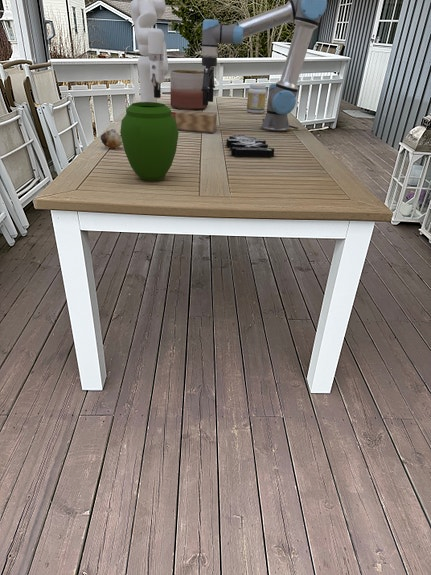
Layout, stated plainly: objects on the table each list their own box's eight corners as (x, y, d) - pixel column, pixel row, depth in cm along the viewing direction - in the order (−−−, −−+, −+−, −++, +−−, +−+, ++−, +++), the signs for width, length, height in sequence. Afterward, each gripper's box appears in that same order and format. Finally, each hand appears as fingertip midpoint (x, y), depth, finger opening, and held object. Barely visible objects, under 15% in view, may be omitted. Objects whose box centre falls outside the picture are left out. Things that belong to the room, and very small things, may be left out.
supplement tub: (247, 109, 285) (249, 83, 276) (264, 111, 283) (267, 84, 274) (245, 112, 274) (248, 84, 265) (264, 114, 273) (266, 86, 264)
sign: (232, 149, 174) (222, 134, 199) (232, 157, 176) (222, 140, 201) (276, 150, 177) (260, 135, 202) (275, 157, 179) (260, 141, 204)
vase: (131, 189, 135) (125, 110, 122) (118, 172, 150) (112, 100, 137) (186, 184, 142) (187, 109, 129) (169, 168, 157) (167, 99, 144)
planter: (201, 104, 296) (202, 70, 284) (212, 110, 276) (213, 73, 264) (166, 104, 289) (166, 69, 277) (175, 110, 268) (175, 73, 257)
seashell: (124, 147, 182) (123, 128, 178) (122, 150, 177) (120, 130, 173) (103, 146, 182) (101, 127, 178) (100, 149, 177) (98, 129, 173)
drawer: (148, 126, 219) (147, 112, 216) (153, 123, 227) (153, 109, 224) (192, 129, 216) (192, 115, 212) (196, 126, 224) (196, 113, 220)
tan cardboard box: (175, 130, 217) (175, 112, 213) (180, 126, 226) (180, 109, 222) (212, 133, 215) (213, 115, 210) (216, 129, 224) (216, 112, 219)
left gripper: (159, 59, 199) (160, 100, 209) (167, 57, 211) (168, 96, 221) (144, 58, 200) (146, 99, 210) (153, 56, 212) (154, 95, 222)
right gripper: (212, 58, 190) (210, 107, 201) (221, 56, 211) (219, 100, 222) (196, 57, 191) (195, 106, 202) (207, 55, 212) (205, 99, 223)
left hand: (157, 97), depth 215 cm, fingers closed
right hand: (207, 103), depth 212 cm, fingers open, 13 cm apart
